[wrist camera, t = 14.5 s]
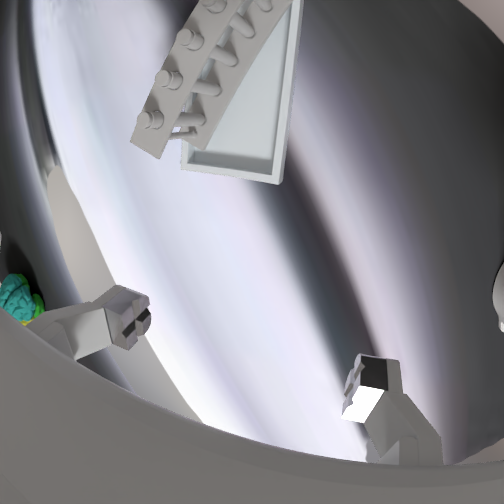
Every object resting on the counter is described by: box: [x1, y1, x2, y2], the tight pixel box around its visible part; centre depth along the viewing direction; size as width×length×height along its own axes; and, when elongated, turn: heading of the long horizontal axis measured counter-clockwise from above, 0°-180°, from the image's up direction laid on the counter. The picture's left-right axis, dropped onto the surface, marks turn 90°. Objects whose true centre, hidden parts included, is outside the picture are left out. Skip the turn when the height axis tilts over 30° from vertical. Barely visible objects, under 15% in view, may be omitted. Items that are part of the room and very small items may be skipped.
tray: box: [181, 0, 304, 184], centre depth 32 cm, size 14×33×2 cm, turn 174°
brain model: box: [0, 274, 45, 326], centre depth 67 cm, size 24×19×15 cm
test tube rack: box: [130, 0, 293, 159], centre depth 26 cm, size 25×4×13 cm, turn 151°
